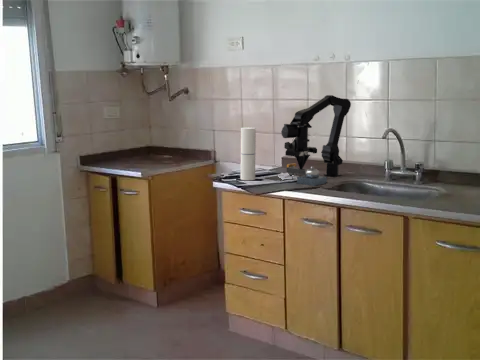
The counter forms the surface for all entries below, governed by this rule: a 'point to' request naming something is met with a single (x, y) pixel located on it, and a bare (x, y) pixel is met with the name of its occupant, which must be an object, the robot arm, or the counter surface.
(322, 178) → the chuck base
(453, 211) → the counter surface
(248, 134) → the cylindrical container
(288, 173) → the chuck key
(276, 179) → the rubber pad
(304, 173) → the chuck collar
